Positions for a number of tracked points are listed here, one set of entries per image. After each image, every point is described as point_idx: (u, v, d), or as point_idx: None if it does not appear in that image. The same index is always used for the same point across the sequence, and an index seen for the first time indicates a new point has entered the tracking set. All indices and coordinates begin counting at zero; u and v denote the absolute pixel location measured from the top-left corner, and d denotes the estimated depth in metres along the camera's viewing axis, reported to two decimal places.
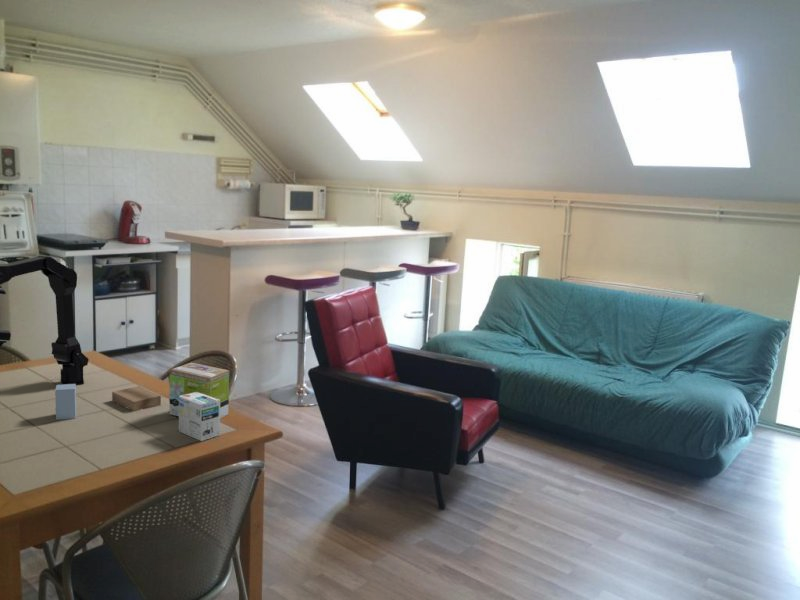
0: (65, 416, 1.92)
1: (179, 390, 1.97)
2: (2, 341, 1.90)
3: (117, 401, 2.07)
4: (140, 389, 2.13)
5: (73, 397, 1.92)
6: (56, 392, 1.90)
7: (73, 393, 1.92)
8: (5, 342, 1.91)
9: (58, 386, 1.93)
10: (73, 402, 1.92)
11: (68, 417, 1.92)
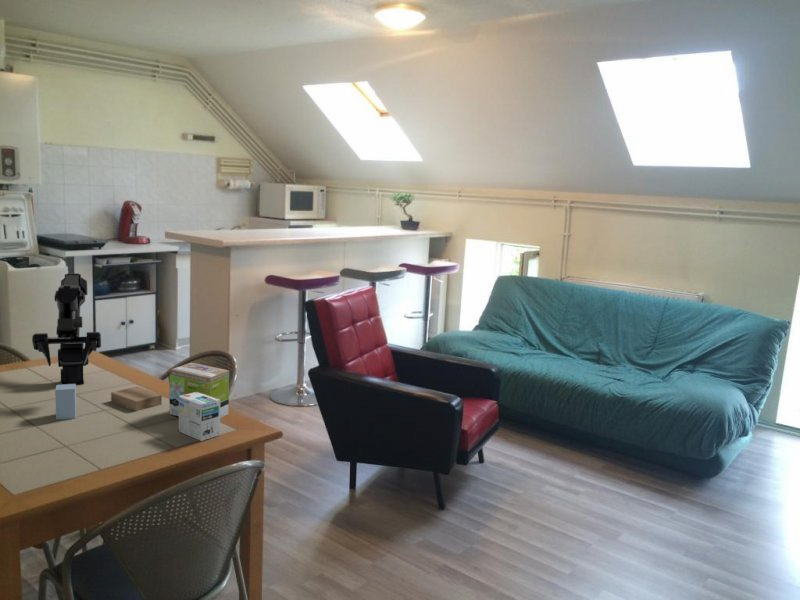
0: (65, 416, 1.92)
1: (179, 390, 1.97)
2: (96, 346, 2.07)
3: (117, 401, 2.07)
4: (139, 389, 2.13)
5: (73, 397, 1.92)
6: (56, 392, 1.90)
7: (73, 393, 1.92)
8: None
9: (58, 386, 1.93)
10: (73, 402, 1.92)
11: (68, 417, 1.92)
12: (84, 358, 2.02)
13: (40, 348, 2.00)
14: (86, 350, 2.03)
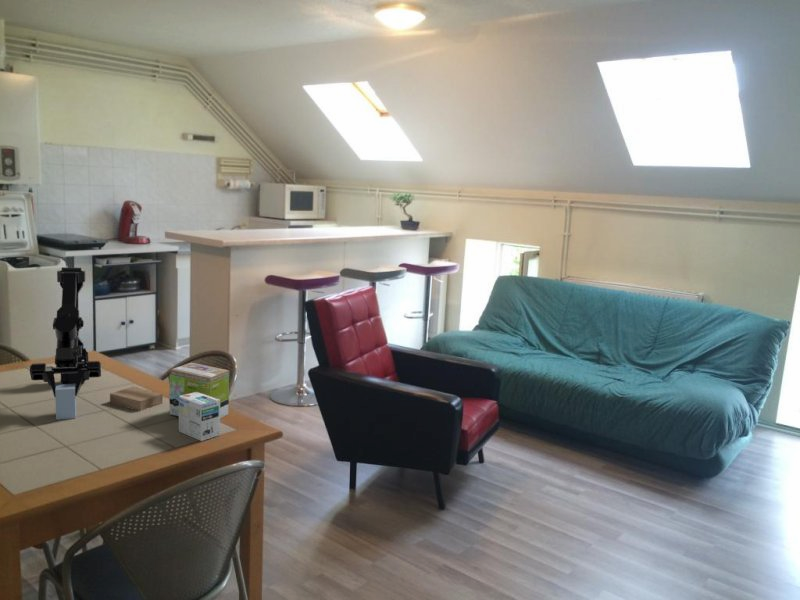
0: (65, 416, 1.92)
1: (179, 390, 1.97)
2: (89, 376, 1.99)
3: (117, 402, 2.06)
4: (137, 389, 2.13)
5: (73, 397, 1.92)
6: (56, 392, 1.90)
7: (73, 393, 1.92)
8: None
9: (58, 386, 1.93)
10: (73, 402, 1.92)
11: (68, 417, 1.92)
12: (76, 389, 1.93)
13: (45, 378, 1.94)
14: (78, 380, 1.94)
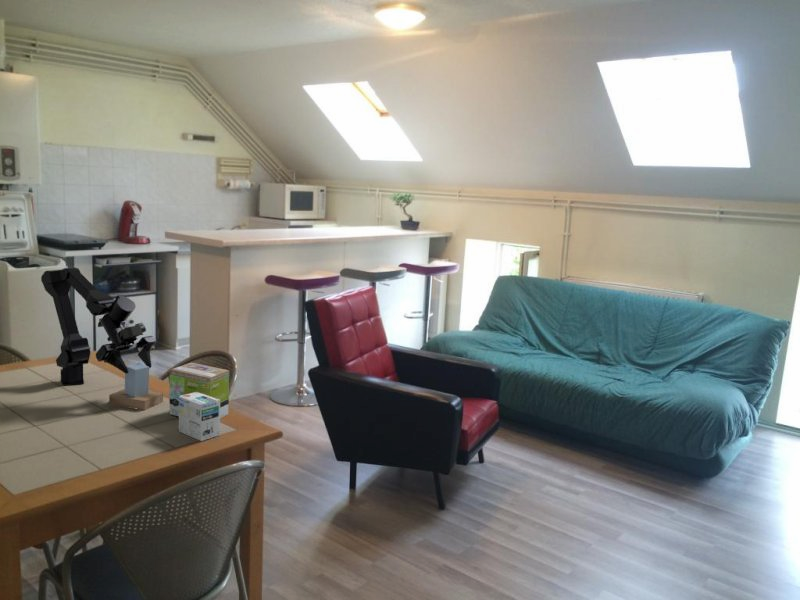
0: (141, 393, 2.07)
1: (179, 390, 1.97)
2: None
3: (117, 403, 2.06)
4: None
5: (148, 374, 2.08)
6: (136, 372, 2.04)
7: (148, 371, 2.08)
8: None
9: (130, 367, 2.06)
10: (147, 379, 2.08)
11: (143, 393, 2.08)
12: (150, 362, 2.10)
13: (108, 358, 2.02)
14: (148, 354, 2.11)
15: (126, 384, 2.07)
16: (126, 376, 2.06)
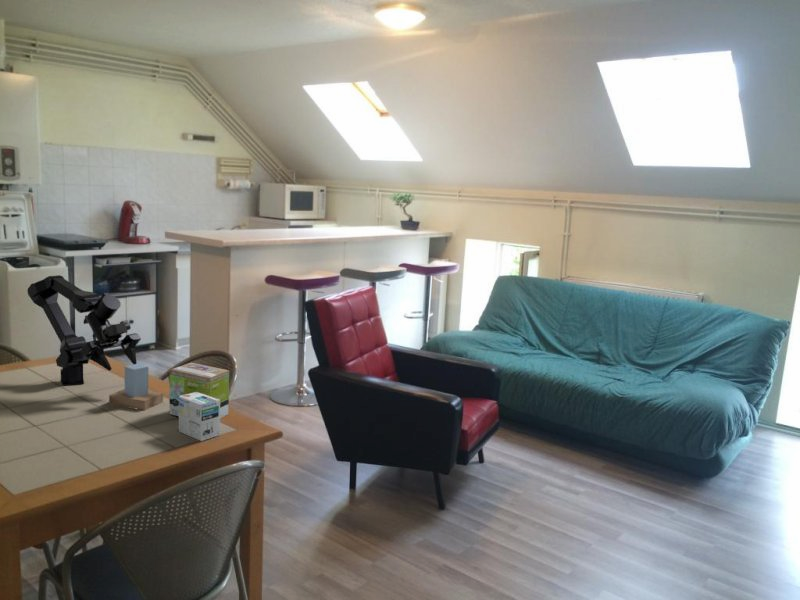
0: (141, 393, 2.07)
1: (179, 390, 1.97)
2: None
3: (117, 403, 2.06)
4: None
5: (147, 374, 2.08)
6: (134, 371, 2.04)
7: (147, 371, 2.08)
8: None
9: (129, 367, 2.06)
10: (147, 379, 2.08)
11: (143, 393, 2.08)
12: (135, 358, 2.15)
13: (92, 355, 2.06)
14: (133, 351, 2.15)
15: (125, 385, 2.07)
16: (125, 376, 2.07)
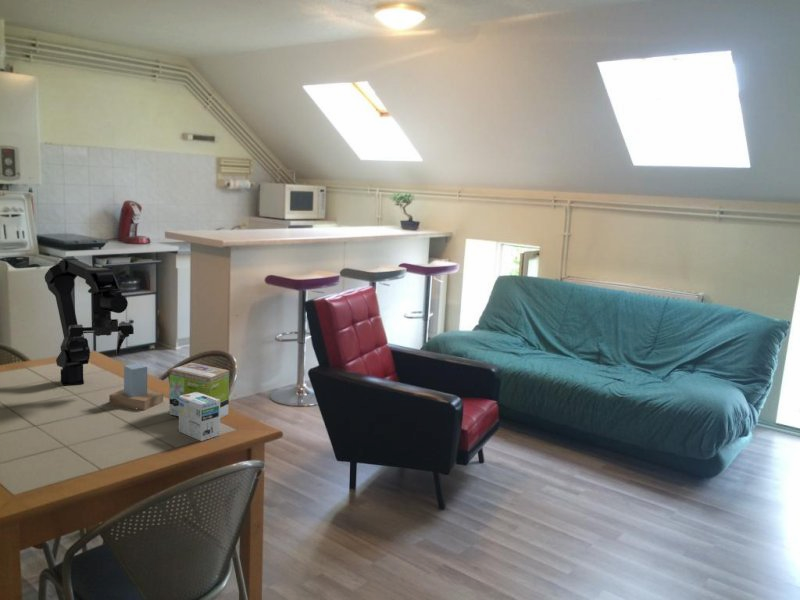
0: (139, 393, 2.07)
1: (179, 390, 1.97)
2: None
3: (118, 403, 2.06)
4: None
5: (146, 374, 2.08)
6: (132, 371, 2.04)
7: (146, 371, 2.07)
8: None
9: (128, 366, 2.06)
10: (146, 379, 2.08)
11: (141, 393, 2.08)
12: (118, 350, 2.14)
13: None
14: (120, 343, 2.14)
15: (125, 384, 2.07)
16: (124, 376, 2.07)
